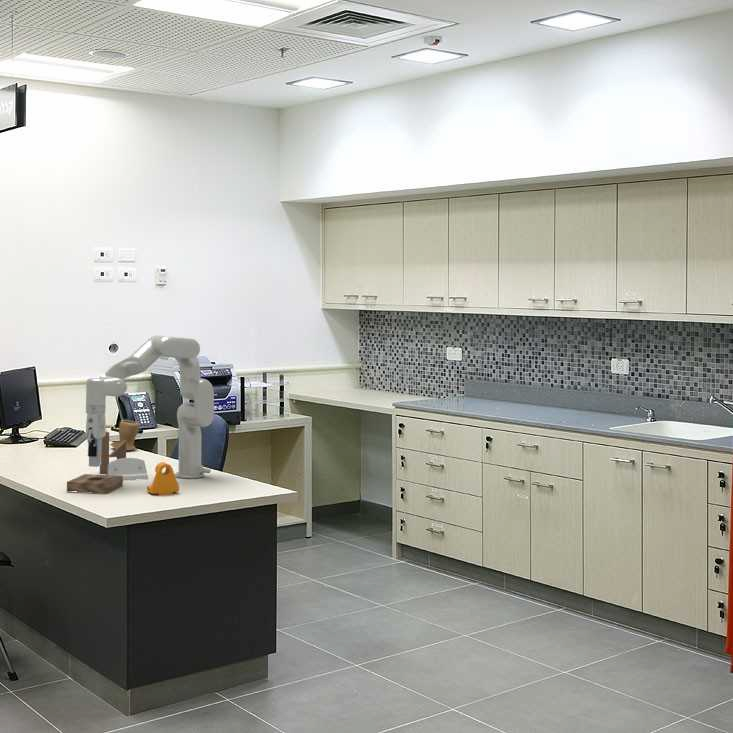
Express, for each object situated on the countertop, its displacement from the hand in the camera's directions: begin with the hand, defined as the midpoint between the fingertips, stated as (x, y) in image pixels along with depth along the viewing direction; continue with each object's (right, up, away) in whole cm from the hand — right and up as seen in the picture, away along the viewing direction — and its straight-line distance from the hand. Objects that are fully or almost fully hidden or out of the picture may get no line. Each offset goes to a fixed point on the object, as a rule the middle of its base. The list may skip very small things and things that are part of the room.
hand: (94, 455), depth 401 cm
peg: (0, -4, 0) cm, 4 cm away
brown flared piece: (-12, -7, +103) cm, 104 cm away
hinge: (+7, -13, +24) cm, 28 cm away
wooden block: (-2, -11, +37) cm, 39 cm away
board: (0, -13, +1) cm, 14 cm away
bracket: (+27, -15, -4) cm, 31 cm away
